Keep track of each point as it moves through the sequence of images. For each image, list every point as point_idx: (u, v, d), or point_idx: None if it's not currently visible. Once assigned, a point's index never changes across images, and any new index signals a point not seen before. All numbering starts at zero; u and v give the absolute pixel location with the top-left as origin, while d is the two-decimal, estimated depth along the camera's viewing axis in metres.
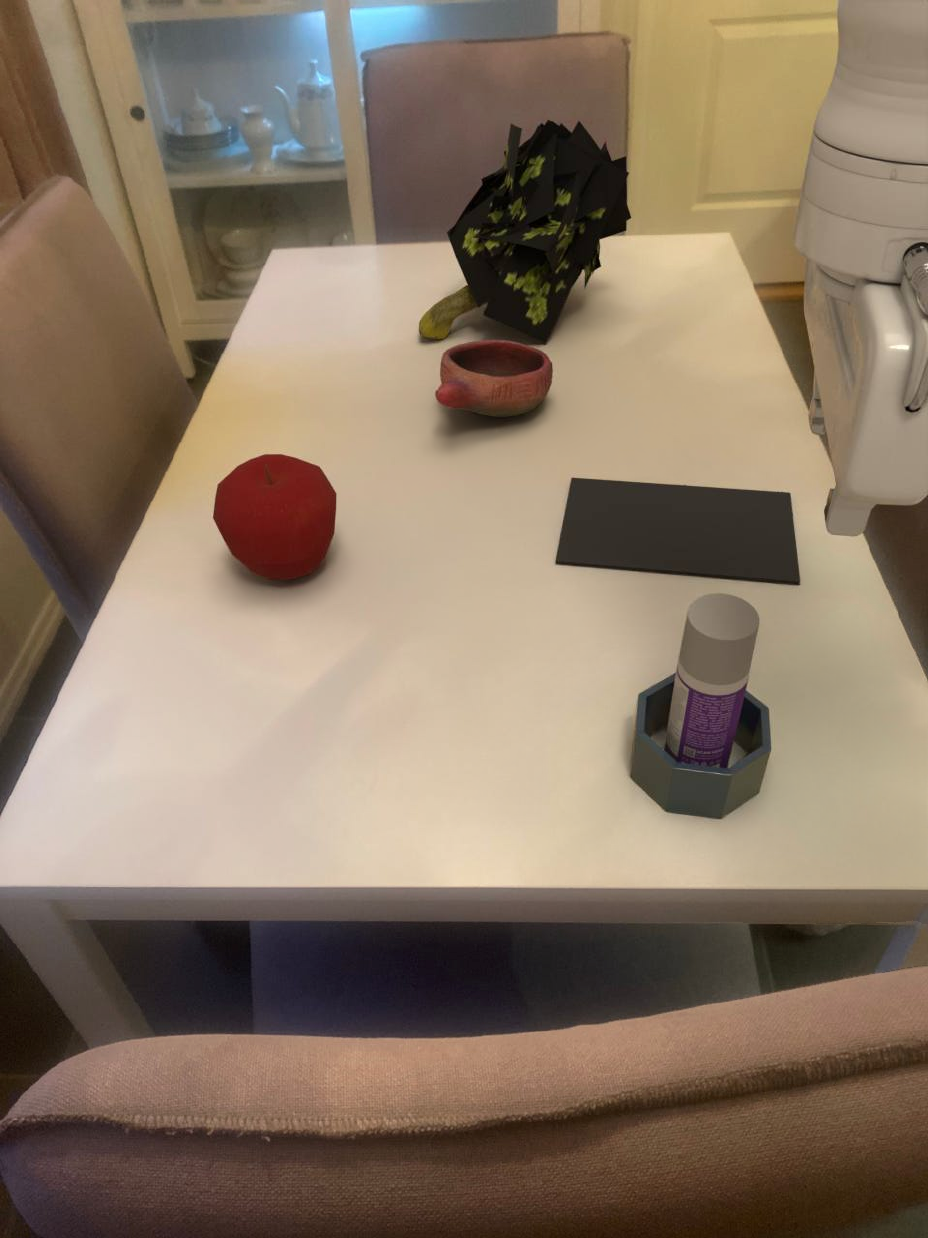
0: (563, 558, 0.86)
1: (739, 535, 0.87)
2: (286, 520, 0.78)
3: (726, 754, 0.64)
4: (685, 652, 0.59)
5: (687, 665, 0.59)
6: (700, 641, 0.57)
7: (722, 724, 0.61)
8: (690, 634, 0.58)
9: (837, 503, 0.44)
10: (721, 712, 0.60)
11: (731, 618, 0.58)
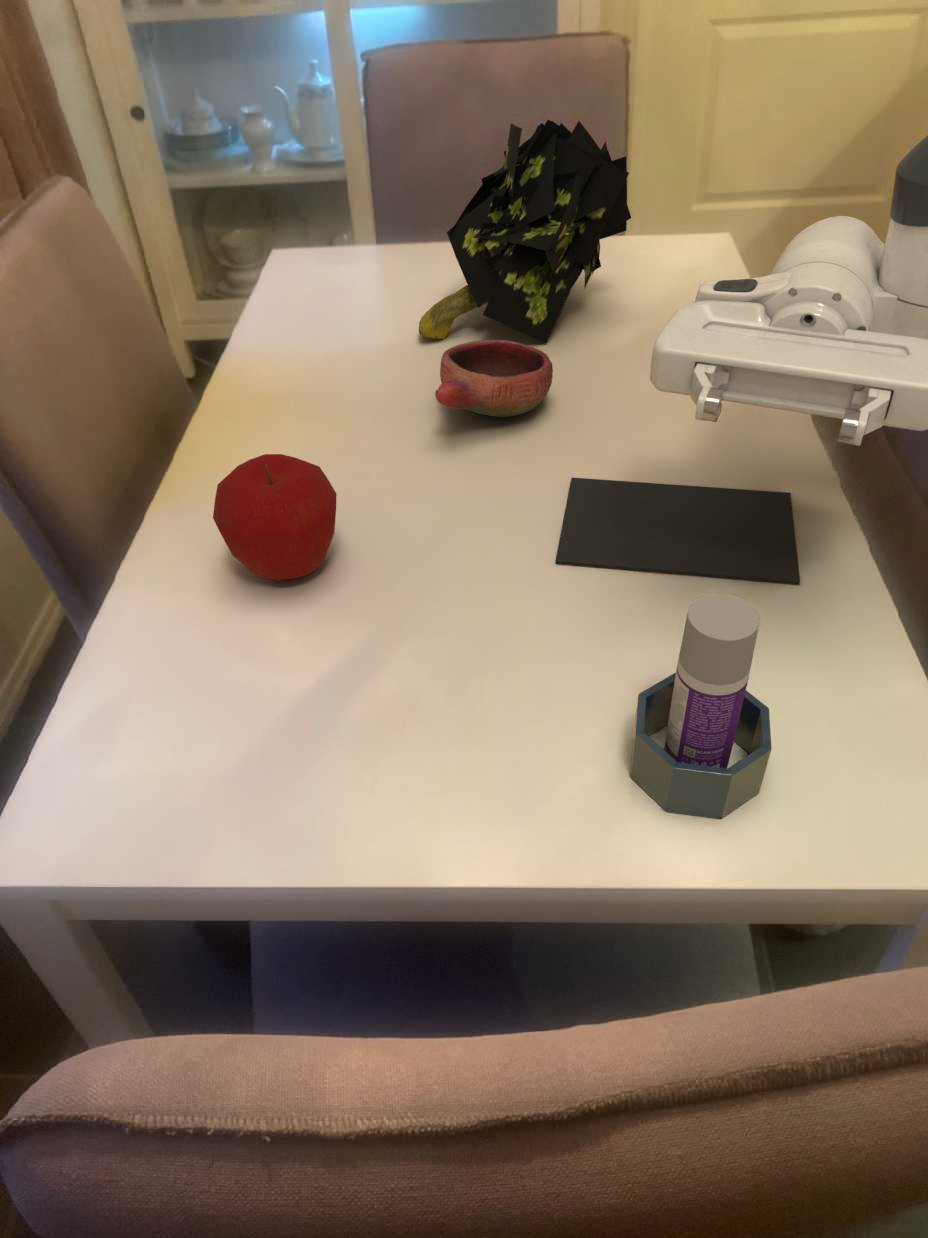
0: (563, 558, 0.86)
1: (739, 535, 0.87)
2: (286, 520, 0.78)
3: (726, 754, 0.64)
4: (685, 652, 0.59)
5: (687, 665, 0.59)
6: (700, 641, 0.57)
7: (722, 724, 0.61)
8: (690, 634, 0.58)
9: (873, 411, 0.60)
10: (721, 712, 0.60)
11: (731, 619, 0.58)
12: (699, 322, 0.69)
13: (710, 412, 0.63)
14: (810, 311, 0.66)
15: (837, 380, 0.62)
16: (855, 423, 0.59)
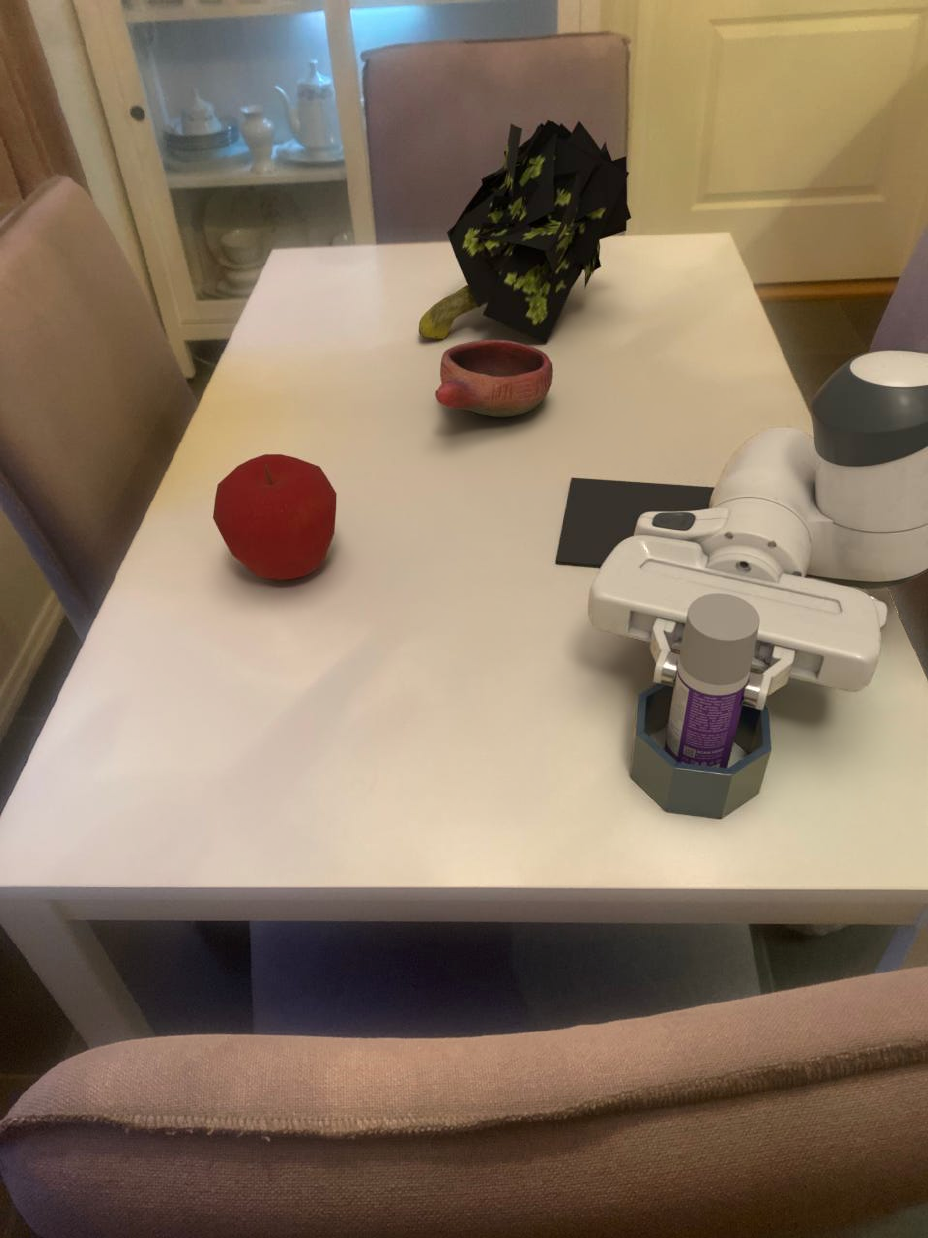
0: (563, 558, 0.86)
1: None
2: (286, 520, 0.78)
3: (726, 754, 0.64)
4: (685, 652, 0.59)
5: (688, 665, 0.59)
6: (700, 641, 0.57)
7: (722, 724, 0.61)
8: (691, 634, 0.58)
9: (776, 676, 0.61)
10: (721, 712, 0.60)
11: (731, 619, 0.58)
12: (637, 560, 0.69)
13: (668, 679, 0.62)
14: (745, 559, 0.66)
15: (768, 641, 0.63)
16: (756, 692, 0.60)
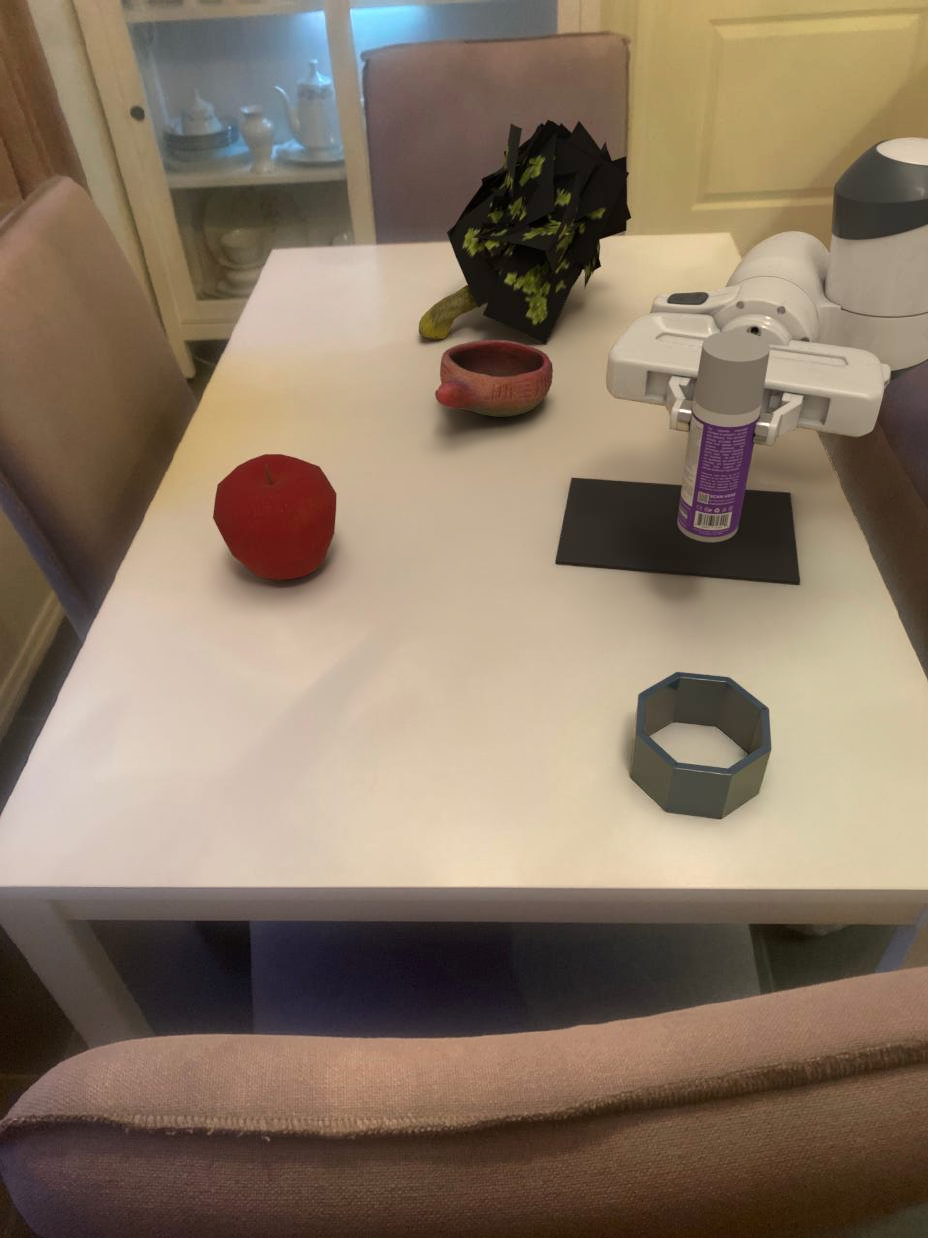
0: (563, 558, 0.86)
1: (739, 535, 0.87)
2: (286, 520, 0.78)
3: (738, 501, 0.68)
4: (700, 385, 0.63)
5: (702, 398, 0.63)
6: (714, 367, 0.61)
7: (734, 462, 0.65)
8: (705, 363, 0.62)
9: (785, 414, 0.65)
10: (733, 447, 0.64)
11: (743, 347, 0.61)
12: (653, 333, 0.72)
13: (683, 423, 0.66)
14: (756, 323, 0.70)
15: (778, 388, 0.66)
16: (767, 425, 0.64)
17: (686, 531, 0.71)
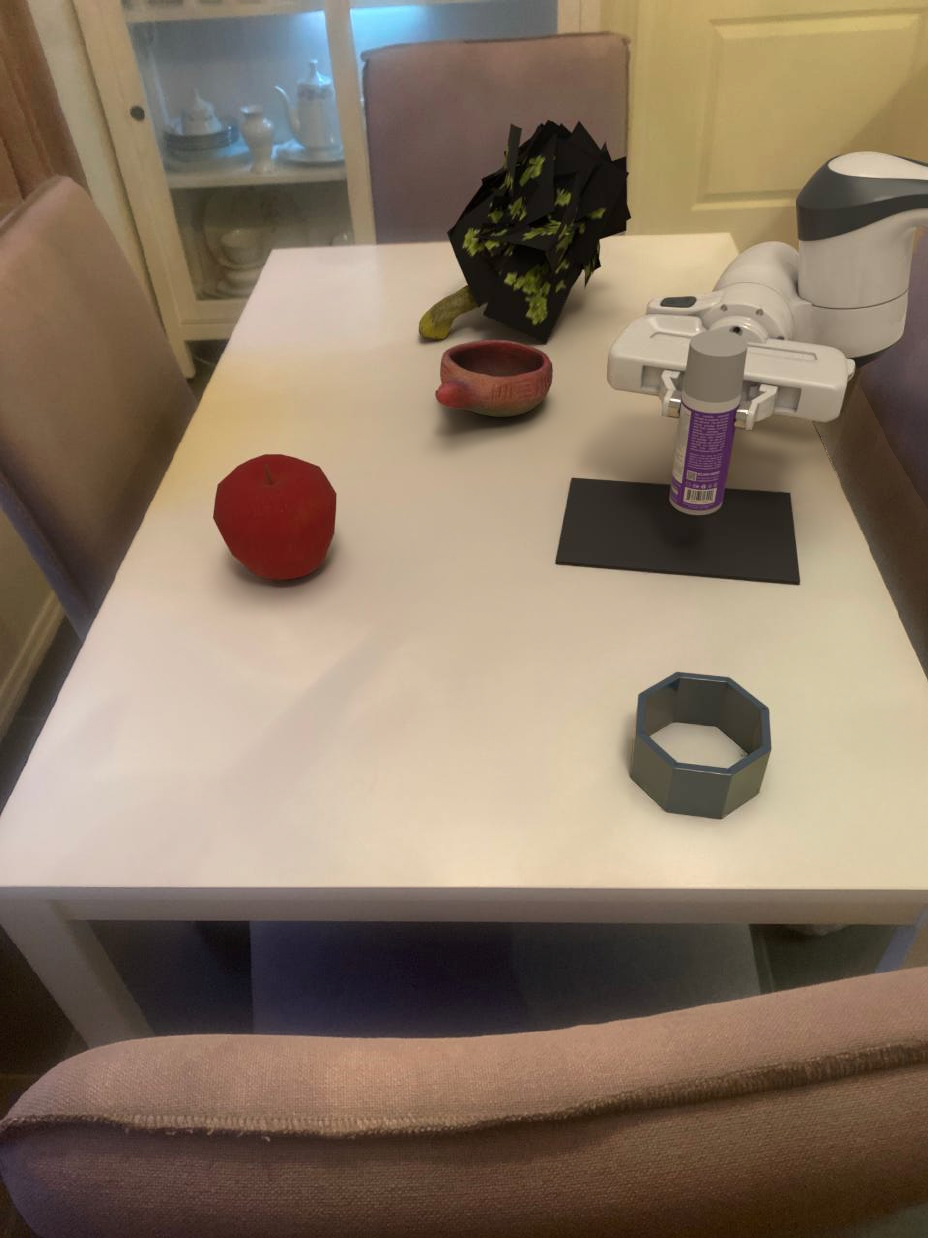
0: (563, 558, 0.86)
1: (739, 535, 0.87)
2: (286, 520, 0.78)
3: (722, 479, 0.78)
4: (688, 377, 0.73)
5: (690, 389, 0.73)
6: (700, 361, 0.71)
7: (718, 444, 0.75)
8: (692, 358, 0.72)
9: (761, 402, 0.75)
10: (717, 430, 0.74)
11: (725, 344, 0.71)
12: (647, 332, 0.83)
13: (674, 410, 0.76)
14: (737, 324, 0.80)
15: (756, 380, 0.76)
16: (746, 412, 0.74)
17: (677, 505, 0.81)
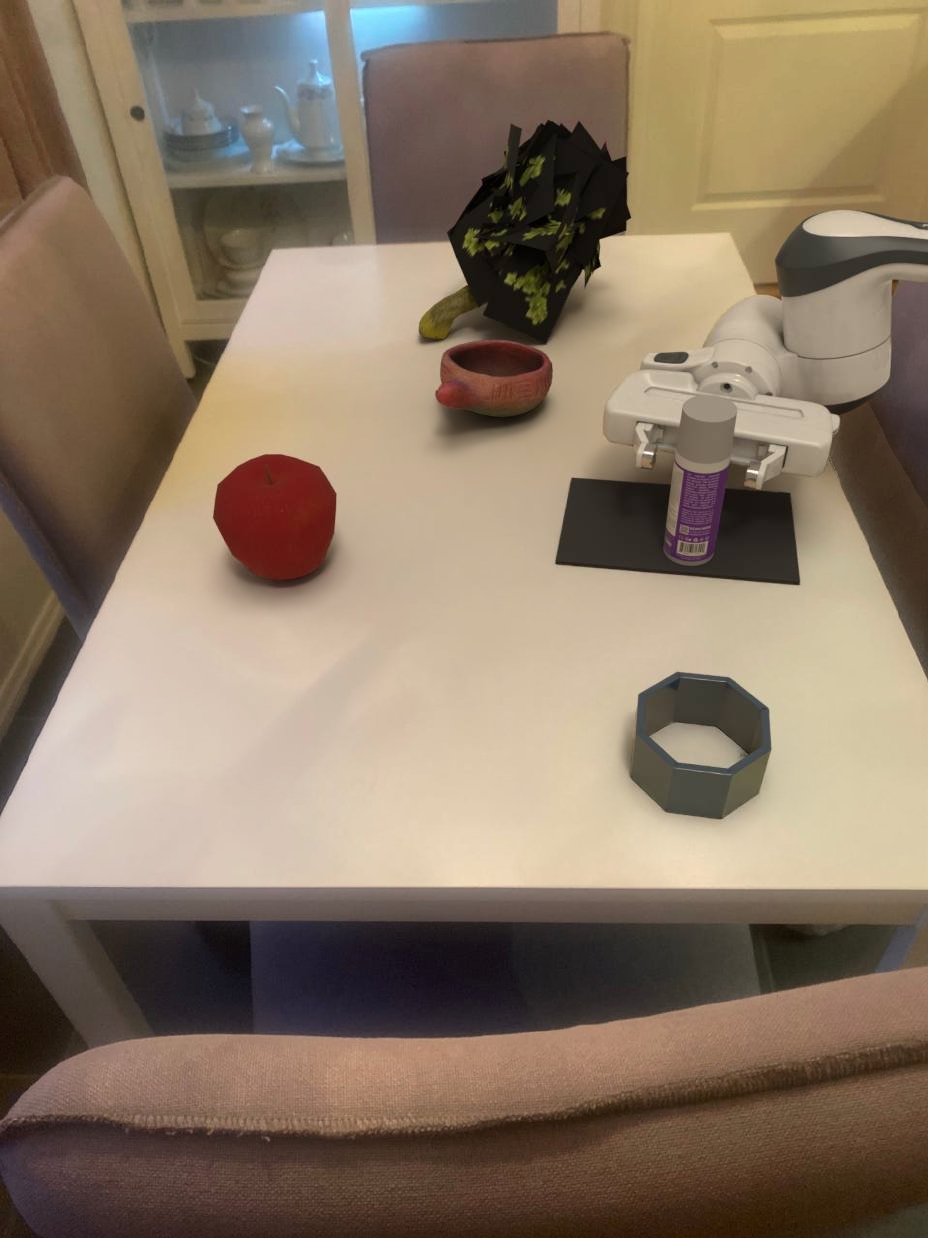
0: (563, 558, 0.86)
1: (739, 535, 0.87)
2: (286, 520, 0.78)
3: (713, 532, 0.82)
4: (680, 439, 0.77)
5: (682, 450, 0.77)
6: (692, 426, 0.75)
7: (709, 501, 0.79)
8: (684, 422, 0.76)
9: (771, 463, 0.78)
10: (708, 489, 0.78)
11: (715, 409, 0.75)
12: (642, 387, 0.86)
13: (646, 462, 0.80)
14: (727, 381, 0.84)
15: (745, 437, 0.80)
16: (756, 473, 0.77)
17: (670, 556, 0.85)
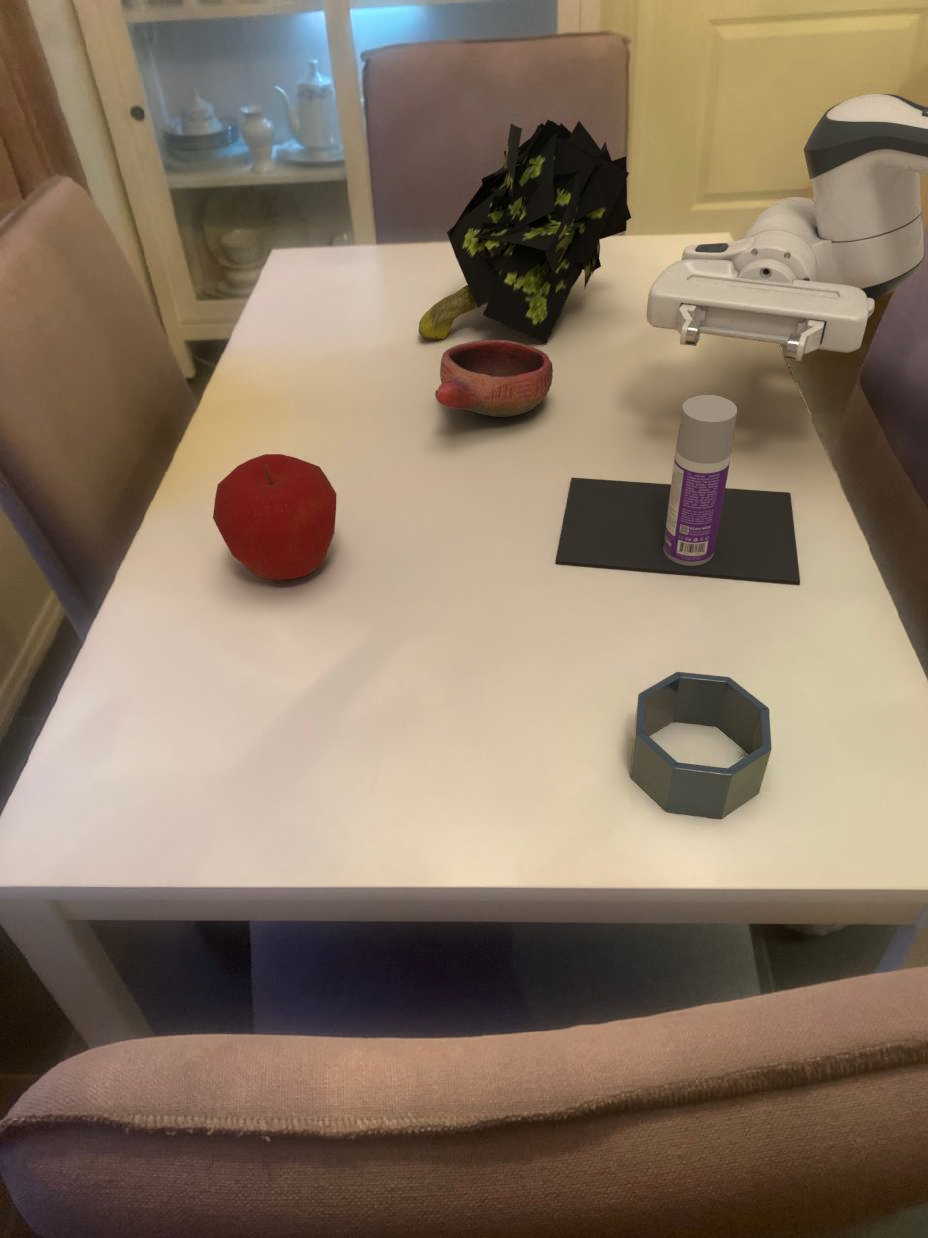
0: (563, 558, 0.86)
1: (739, 535, 0.87)
2: (286, 520, 0.78)
3: (713, 532, 0.82)
4: (680, 439, 0.77)
5: (682, 450, 0.77)
6: (692, 425, 0.75)
7: (709, 501, 0.79)
8: (684, 422, 0.76)
9: (810, 335, 0.82)
10: (708, 489, 0.78)
11: (715, 409, 0.75)
12: (684, 275, 0.90)
13: (691, 338, 0.84)
14: (767, 265, 0.88)
15: (785, 314, 0.84)
16: (796, 343, 0.81)
17: (670, 556, 0.85)
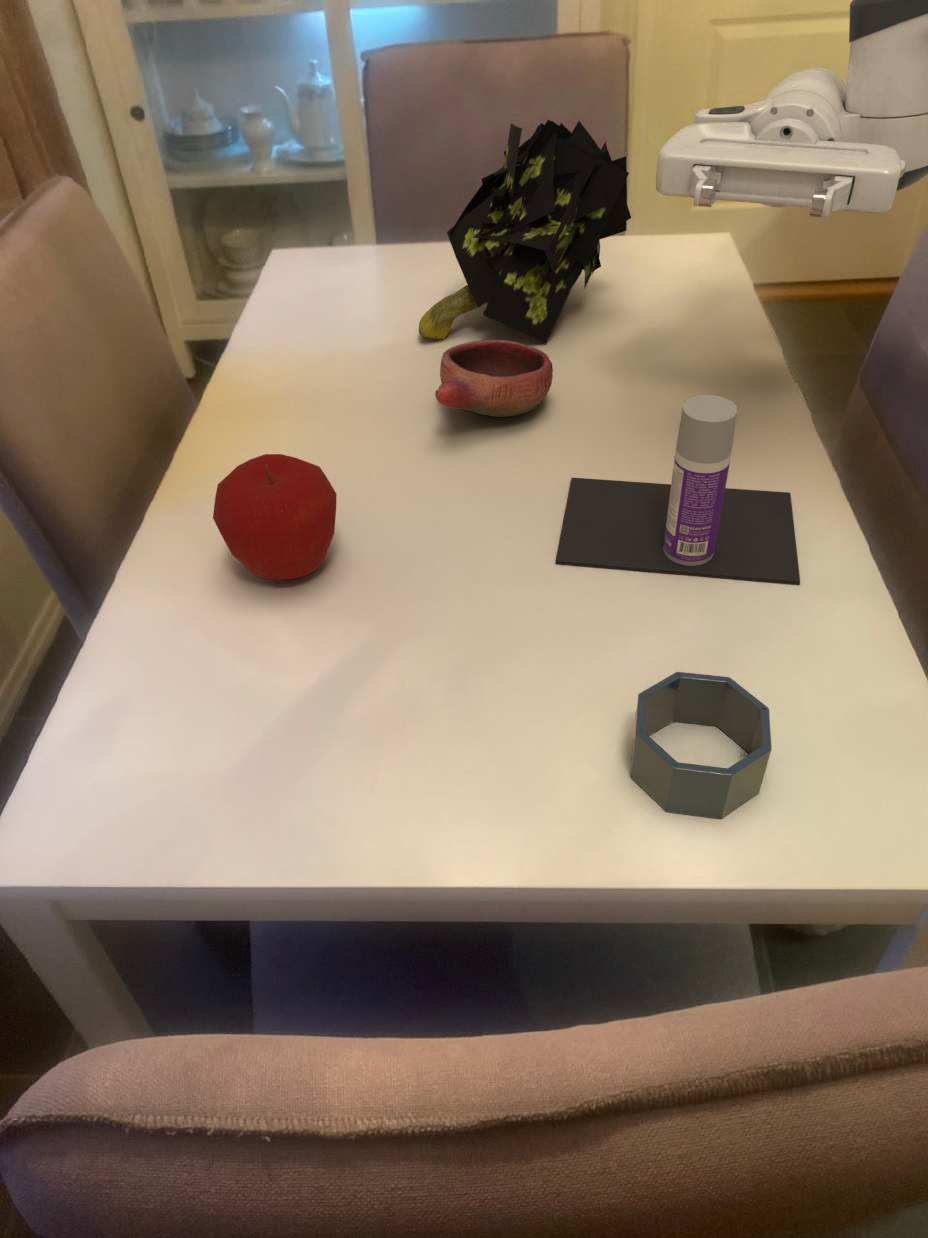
0: (563, 558, 0.86)
1: (739, 535, 0.87)
2: (286, 520, 0.78)
3: (713, 532, 0.82)
4: (681, 439, 0.77)
5: (682, 450, 0.77)
6: (692, 425, 0.75)
7: (709, 501, 0.79)
8: (684, 422, 0.76)
9: (838, 190, 0.74)
10: (708, 489, 0.78)
11: (715, 409, 0.75)
12: (696, 138, 0.83)
13: (706, 197, 0.77)
14: (788, 124, 0.80)
15: (809, 170, 0.76)
16: (823, 196, 0.73)
17: (670, 556, 0.85)
